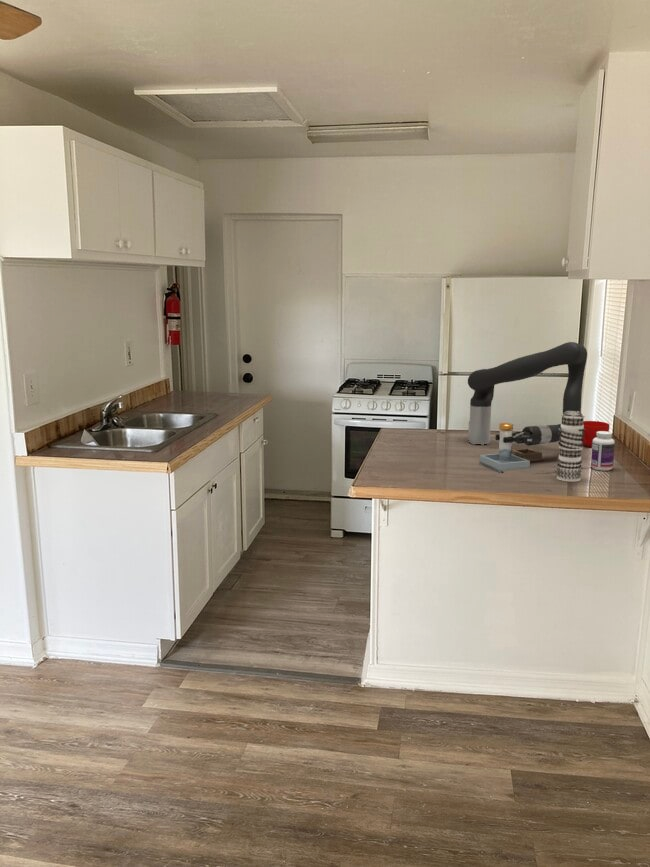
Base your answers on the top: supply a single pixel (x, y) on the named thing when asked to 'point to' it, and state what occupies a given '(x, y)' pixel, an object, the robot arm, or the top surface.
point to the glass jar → (505, 448)
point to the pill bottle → (602, 451)
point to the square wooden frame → (528, 454)
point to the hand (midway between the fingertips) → (500, 438)
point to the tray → (503, 462)
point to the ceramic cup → (593, 431)
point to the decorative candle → (570, 446)
